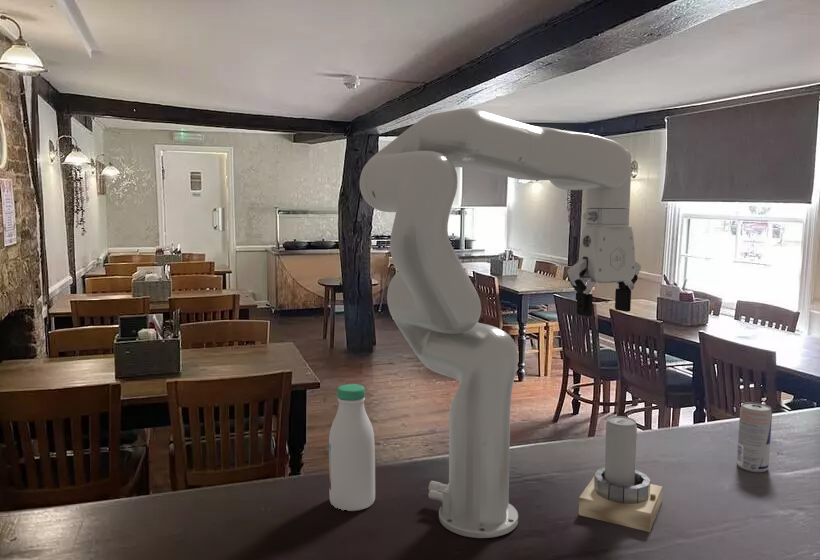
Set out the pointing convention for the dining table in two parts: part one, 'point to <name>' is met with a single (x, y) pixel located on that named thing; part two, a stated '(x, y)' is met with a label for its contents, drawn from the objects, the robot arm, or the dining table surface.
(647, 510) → the mount block
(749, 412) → the energy drink
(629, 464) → the beverage can
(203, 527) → the dining table surface
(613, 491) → the mount ring
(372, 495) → the milk bottle
